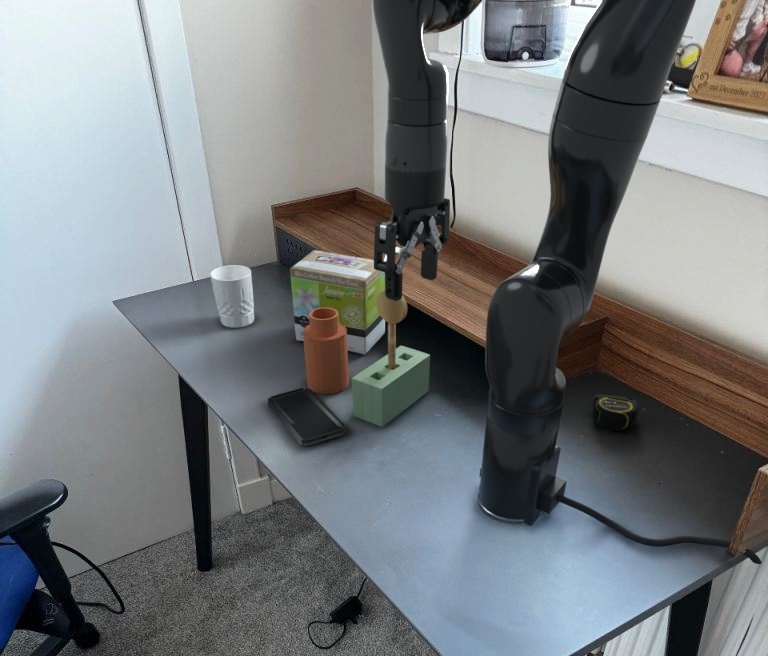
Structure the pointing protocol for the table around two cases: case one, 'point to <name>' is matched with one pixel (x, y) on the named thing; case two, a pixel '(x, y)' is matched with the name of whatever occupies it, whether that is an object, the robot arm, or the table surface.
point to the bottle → (326, 352)
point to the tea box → (340, 295)
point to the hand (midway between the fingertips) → (411, 288)
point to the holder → (390, 386)
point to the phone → (306, 416)
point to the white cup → (233, 295)
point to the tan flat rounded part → (391, 321)
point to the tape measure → (615, 411)
